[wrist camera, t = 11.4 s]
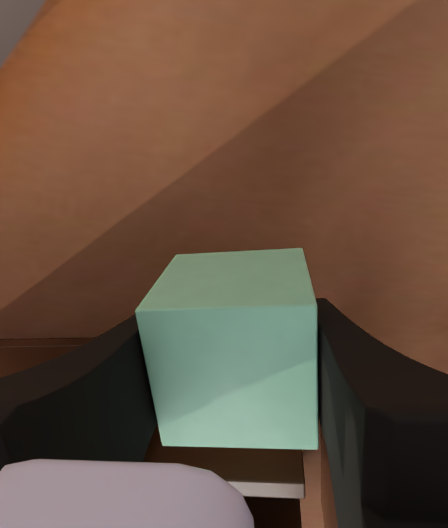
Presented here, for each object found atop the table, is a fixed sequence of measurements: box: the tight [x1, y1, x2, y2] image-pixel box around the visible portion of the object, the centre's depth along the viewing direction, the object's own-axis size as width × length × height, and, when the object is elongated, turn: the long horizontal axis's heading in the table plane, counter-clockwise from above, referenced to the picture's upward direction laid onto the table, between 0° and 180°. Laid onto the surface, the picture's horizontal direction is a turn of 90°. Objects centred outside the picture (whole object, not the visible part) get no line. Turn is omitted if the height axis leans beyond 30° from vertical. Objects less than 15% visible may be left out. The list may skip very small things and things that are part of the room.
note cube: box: [135, 248, 319, 450], centre depth 11 cm, size 4×4×4 cm
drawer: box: [143, 422, 338, 528], centre depth 17 cm, size 17×10×7 cm, turn 95°
